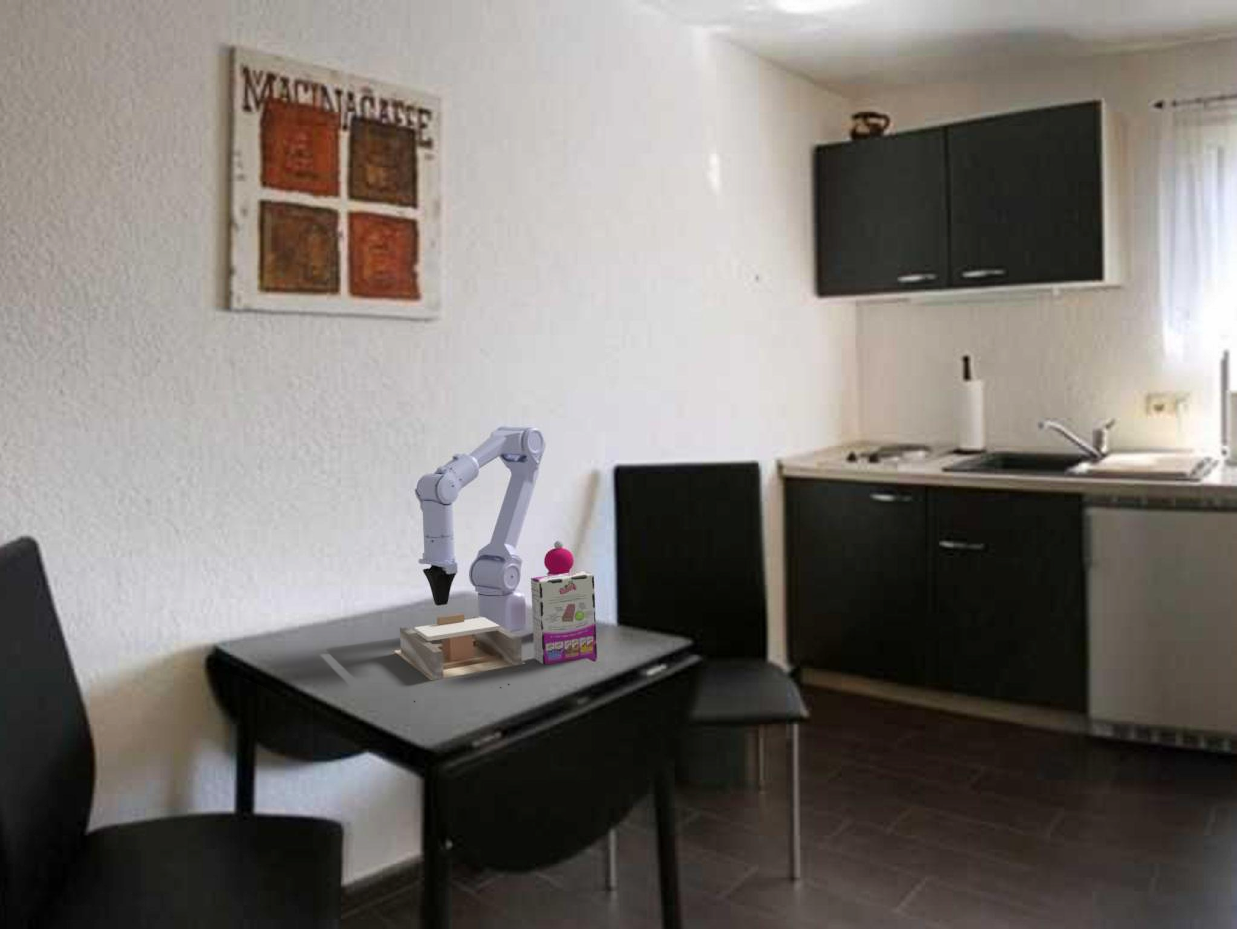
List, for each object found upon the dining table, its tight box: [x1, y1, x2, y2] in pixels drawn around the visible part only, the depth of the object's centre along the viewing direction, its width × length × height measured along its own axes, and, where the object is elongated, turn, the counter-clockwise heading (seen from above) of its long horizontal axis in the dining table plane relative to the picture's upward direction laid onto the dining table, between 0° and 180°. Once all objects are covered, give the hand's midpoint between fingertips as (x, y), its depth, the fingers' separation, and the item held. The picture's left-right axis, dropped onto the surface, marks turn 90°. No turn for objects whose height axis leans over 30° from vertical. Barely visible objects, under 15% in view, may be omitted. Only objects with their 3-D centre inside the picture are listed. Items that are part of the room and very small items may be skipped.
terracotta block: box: [441, 634, 474, 661], centre depth 185 cm, size 4×4×4 cm
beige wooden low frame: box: [394, 615, 526, 681], centre depth 185 cm, size 18×22×6 cm
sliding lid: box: [413, 613, 500, 642], centre depth 185 cm, size 14×8×2 cm, turn 119°
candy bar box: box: [530, 570, 598, 665], centre depth 183 cm, size 11×5×16 cm, turn 117°
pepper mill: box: [543, 540, 575, 576], centre depth 200 cm, size 7×7×20 cm
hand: (441, 604), depth 192 cm, fingers closed
